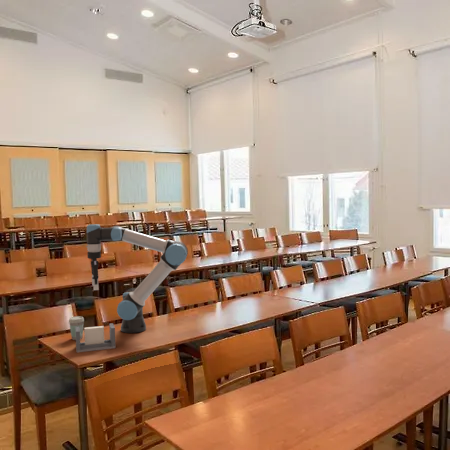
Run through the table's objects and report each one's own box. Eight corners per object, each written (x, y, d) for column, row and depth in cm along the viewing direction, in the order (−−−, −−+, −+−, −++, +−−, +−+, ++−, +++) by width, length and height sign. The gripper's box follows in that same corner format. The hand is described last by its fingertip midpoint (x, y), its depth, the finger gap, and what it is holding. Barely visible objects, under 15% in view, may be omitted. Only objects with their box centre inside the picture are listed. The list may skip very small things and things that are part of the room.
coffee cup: (80, 341, 272) (79, 320, 271) (66, 340, 274) (65, 319, 273) (87, 336, 281) (86, 316, 280) (74, 335, 282) (73, 315, 281)
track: (113, 342, 268) (113, 323, 267) (115, 348, 259) (114, 327, 258) (76, 346, 262) (75, 326, 261) (76, 352, 252) (75, 331, 252)
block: (103, 343, 263) (103, 325, 262) (104, 345, 260) (103, 327, 259) (84, 345, 260) (84, 327, 259) (85, 347, 257) (84, 329, 256)
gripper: (86, 249, 287) (87, 284, 288) (88, 254, 263) (89, 292, 265) (99, 248, 289) (100, 283, 291) (102, 253, 266) (103, 291, 267)
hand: (95, 287), depth 278 cm, fingers open, 13 cm apart
